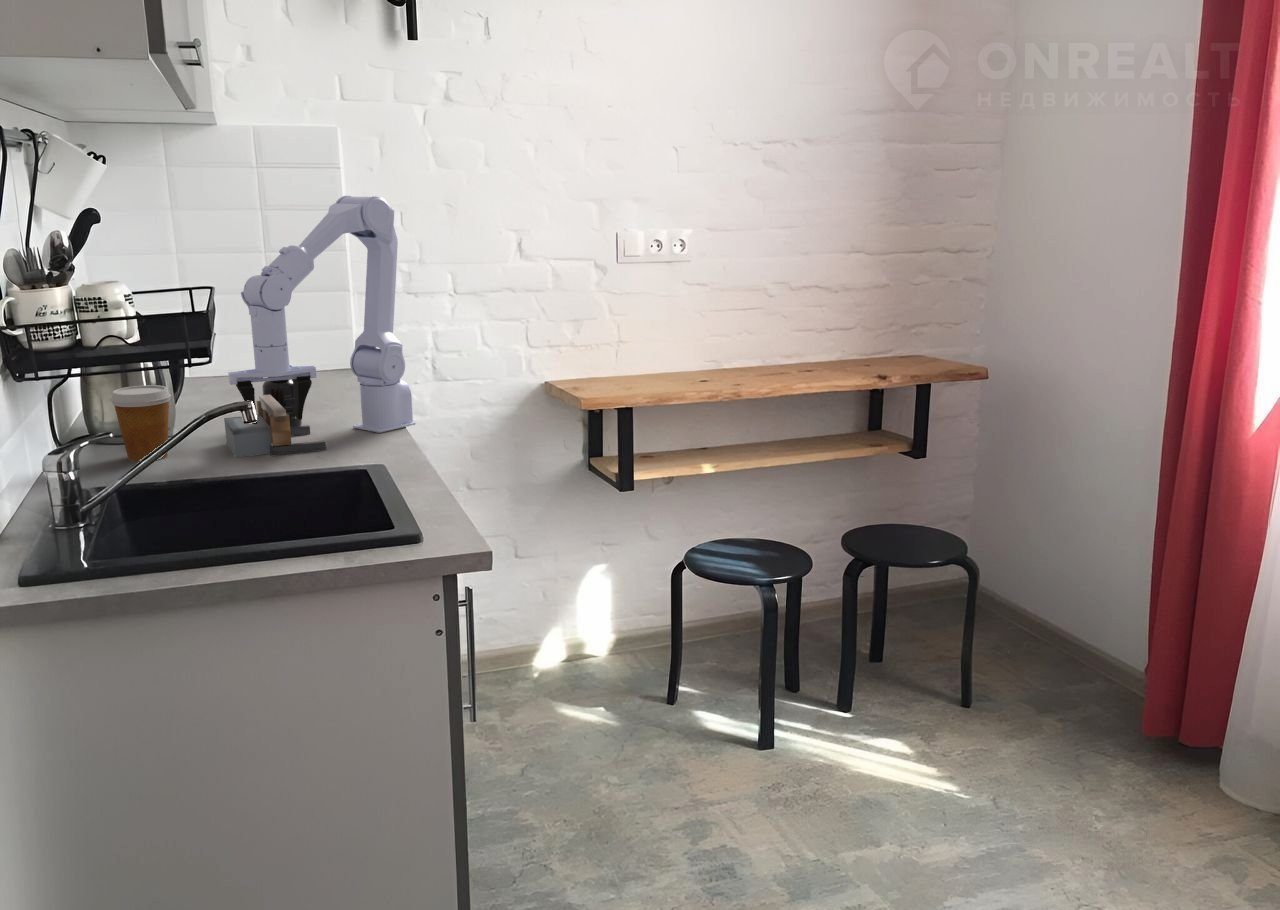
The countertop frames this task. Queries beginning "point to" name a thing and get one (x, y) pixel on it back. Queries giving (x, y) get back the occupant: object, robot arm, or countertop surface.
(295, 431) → the rail frame
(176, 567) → the countertop surface
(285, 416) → the tan piece
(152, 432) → the disposable coffee cup
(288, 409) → the supplement bottle
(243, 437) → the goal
